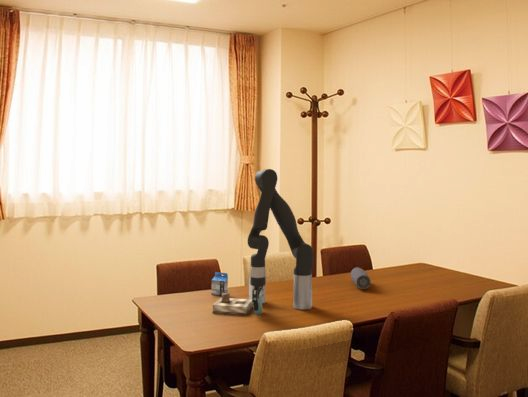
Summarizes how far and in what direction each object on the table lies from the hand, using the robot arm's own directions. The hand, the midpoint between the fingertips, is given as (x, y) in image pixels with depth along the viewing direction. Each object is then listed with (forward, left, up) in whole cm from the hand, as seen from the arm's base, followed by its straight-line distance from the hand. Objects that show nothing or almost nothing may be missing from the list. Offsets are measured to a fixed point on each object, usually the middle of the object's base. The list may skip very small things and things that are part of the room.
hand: (257, 307), depth 251 cm
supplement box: (+5, -20, -3) cm, 21 cm away
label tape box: (+29, -31, -3) cm, 42 cm away
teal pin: (0, 0, -3) cm, 3 cm away
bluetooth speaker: (-48, -67, -3) cm, 82 cm away
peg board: (+13, -3, -3) cm, 14 cm away
